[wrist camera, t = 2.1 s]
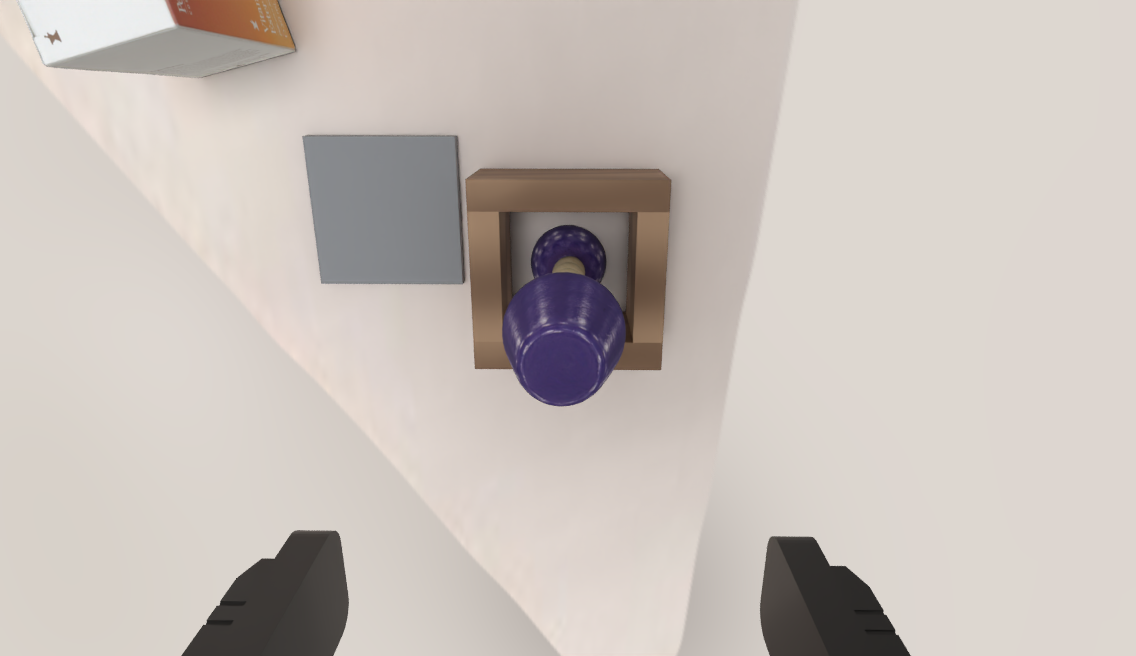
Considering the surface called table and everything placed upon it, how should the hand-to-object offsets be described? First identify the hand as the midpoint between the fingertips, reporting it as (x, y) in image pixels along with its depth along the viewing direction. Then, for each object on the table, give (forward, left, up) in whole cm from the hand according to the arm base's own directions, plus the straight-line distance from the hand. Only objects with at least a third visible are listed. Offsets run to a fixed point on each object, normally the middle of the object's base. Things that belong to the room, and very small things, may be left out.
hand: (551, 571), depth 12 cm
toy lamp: (0, 0, -26) cm, 26 cm away
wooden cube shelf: (0, 0, -26) cm, 26 cm away
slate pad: (-3, -10, -26) cm, 28 cm away
